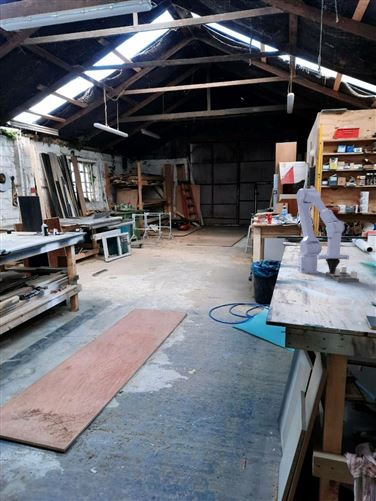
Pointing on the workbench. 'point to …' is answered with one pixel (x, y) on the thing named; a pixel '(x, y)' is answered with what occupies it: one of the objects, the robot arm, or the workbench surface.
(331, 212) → the robot arm
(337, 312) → the workbench surface
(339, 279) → the panel
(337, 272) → the breaker mid
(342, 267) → the breaker far
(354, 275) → the breaker near
